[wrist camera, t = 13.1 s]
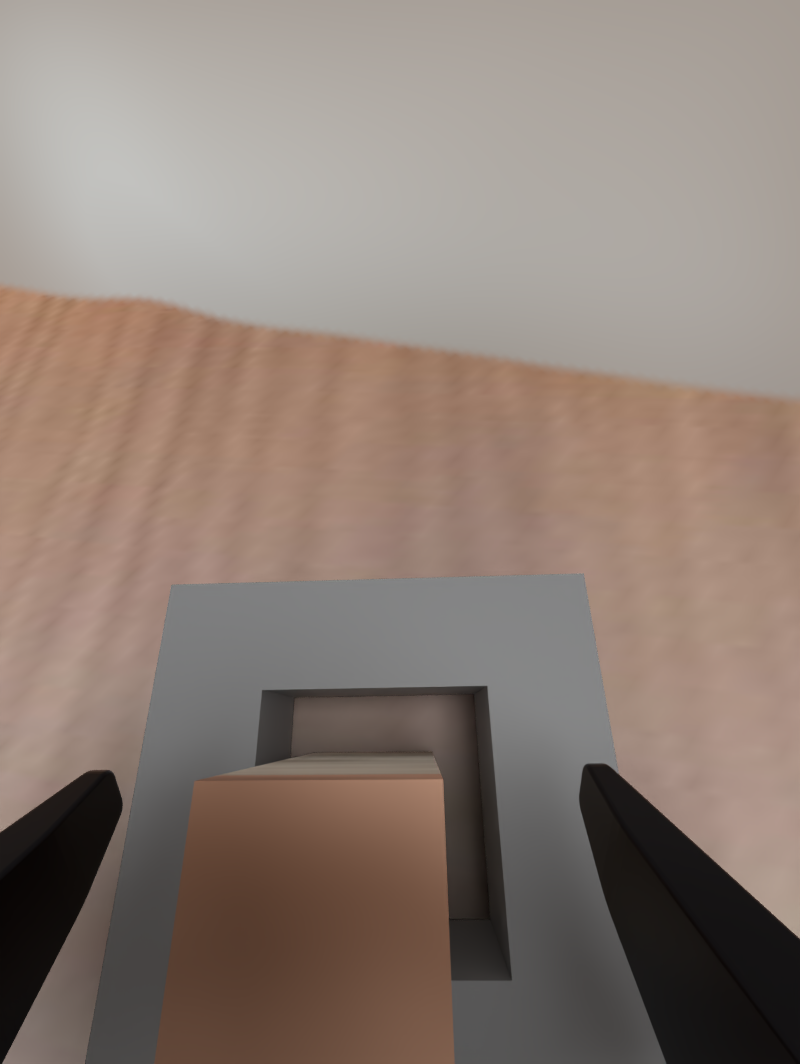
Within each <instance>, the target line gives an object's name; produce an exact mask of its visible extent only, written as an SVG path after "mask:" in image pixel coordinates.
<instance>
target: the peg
mask: <svg viewBox="0 0 800 1064" xmlns="http://www.w3.org/2000/svg"><path fill="white" fill-rule="evenodd" d="M154 1064H455V1060H454V1036H453V1011H452V986H451V962H450V937H449V912H448V887H447V863H446V838H445V813H444V789H443V778H442V775H441V773H440V770H439V768H438V765H437V763H436V760H435V758H434V755H433V753H432V752H323V753H311V754H306V755H302V756H298V757H294V758H289V759H285V760H281V761H277V762H272V763H268V764H264V765H260V766H256V767H251V768H247V769H243V770H239V771H234V772H230V773H226V774H222V775H217V776H213V777H209V778H205V779H200V780H196V781H194V788H193V795H192V802H191V809H190V816H189V823H188V830H187V837H186V844H185V851H184V858H183V865H182V872H181V879H180V886H179V893H178V900H177V907H176V914H175V921H174V928H173V935H172V942H171V949H170V956H169V963H168V970H167V977H166V984H165V991H164V998H163V1005H162V1012H161V1019H160V1026H159V1033H158V1040H157V1047H156V1054H155V1061H154Z"/></svg>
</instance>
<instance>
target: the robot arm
mask: <svg viewBox="0 0 800 1064" xmlns="http://www.w3.org/2000/svg"><path fill="white" fill-rule="evenodd" d="M579 805H580V810H581V813H582V817H583V821H584V825H585V828H586V832H587V836H588V839H589V843H590V847H591V850H592V854H593V858H594V861H595V865H596V869H597V872H598V876H599V880H600V883H601V887H602V890H603V894H604V897H605V901H606V903H607V906H608V909H609V912H610V915H611V918H612V920H613V923H614V926H615V928H616V931H617V934H618V936H619V939H620V942H621V944H622V947H623V950H624V952H625V955H626V958H627V960H628V963H629V966H630V968H631V971H632V974H633V976H634V979H635V982H636V984H637V987H638V990H639V992H640V995H641V998H642V1000H643V1003H644V1006H645V1008H646V1011H647V1014H648V1016H649V1019H650V1022H651V1024H652V1027H653V1030H654V1032H655V1035H656V1038H657V1040H658V1043H659V1046H660V1048H661V1051H662V1054H663V1056H664V1059H665V1062H666V1064H800V939H799V938H798V937H797V936H796V935H795V934H794V933H793V932H792V931H791V930H789V929H788V928H787V927H786V926H785V925H784V924H783V923H782V922H781V921H780V920H778V919H777V918H776V917H775V916H774V915H773V914H772V913H771V912H770V911H769V910H767V909H766V908H765V907H764V906H763V905H762V904H761V903H760V902H759V901H758V900H756V899H755V898H754V897H753V896H752V895H751V894H750V893H749V892H748V891H747V890H745V889H744V888H743V887H742V886H741V885H740V884H739V883H738V882H737V881H736V880H734V879H733V878H732V877H731V876H730V875H729V874H728V873H727V872H726V871H725V870H723V869H722V868H721V867H720V866H719V865H718V864H717V863H716V862H715V861H714V860H713V859H711V858H710V857H709V856H708V855H707V854H706V853H705V852H704V851H703V850H702V849H700V848H699V847H698V846H697V845H696V844H695V843H694V842H693V841H692V840H691V839H689V838H688V837H687V836H686V835H685V834H684V833H683V832H682V831H681V830H680V829H678V828H677V827H676V826H675V825H674V824H673V823H672V822H671V821H670V820H669V819H667V818H666V817H665V816H664V815H663V814H662V813H661V812H660V811H659V810H658V809H656V808H655V807H654V806H653V805H652V804H651V803H650V802H649V801H648V800H647V799H645V798H644V797H643V796H642V795H641V794H640V793H639V792H638V791H637V790H636V789H634V788H633V787H632V786H631V785H630V784H629V783H628V782H627V781H626V780H625V779H623V778H622V777H621V776H620V775H619V774H618V773H617V772H616V771H615V770H614V769H612V768H611V767H610V766H609V765H607V764H605V763H587V764H585V765H584V767H583V770H582V777H581V784H580V791H579ZM122 806H123V803H122V797H121V794H120V791H119V788H118V785H117V781H116V778H115V775H114V773H113V772H112V771H110V770H92V771H88V772H86V773H84V774H83V775H81V776H80V777H78V778H77V779H76V780H74V781H73V782H71V783H70V784H69V785H67V786H66V787H64V788H63V789H61V790H60V791H59V792H57V793H56V794H54V795H53V796H52V797H50V798H49V799H47V800H46V801H44V802H43V803H42V804H40V805H39V806H37V807H36V808H34V809H33V810H32V811H30V812H29V813H27V814H26V815H25V816H23V817H22V818H20V819H19V820H17V821H16V822H15V823H13V824H12V825H10V826H9V827H7V828H6V829H5V830H3V831H2V832H0V1064H2V1063H3V1061H4V1059H5V1057H6V1055H7V1053H8V1051H9V1049H10V1047H11V1045H12V1043H13V1041H14V1039H15V1037H16V1035H17V1033H18V1031H19V1030H20V1028H21V1026H22V1024H23V1022H24V1020H25V1018H26V1016H27V1014H28V1012H29V1010H30V1008H31V1006H32V1004H33V1002H34V1000H35V998H36V996H37V994H38V992H39V991H40V989H41V987H42V985H43V983H44V981H45V979H46V977H47V975H48V973H49V971H50V969H51V967H52V965H53V963H54V961H55V959H56V957H57V955H58V954H59V952H60V950H61V948H62V946H63V944H64V942H65V940H66V938H67V936H68V934H69V932H70V930H71V928H72V926H73V924H74V922H75V920H76V918H77V916H78V914H79V912H80V910H81V908H82V906H83V904H84V902H85V899H86V897H87V895H88V893H89V890H90V888H91V886H92V883H93V881H94V878H95V876H96V874H97V871H98V869H99V866H100V864H101V861H102V859H103V857H104V854H105V852H106V849H107V847H108V844H109V842H110V840H111V837H112V835H113V832H114V830H115V828H116V825H117V823H118V820H119V818H120V815H121V812H122Z"/></svg>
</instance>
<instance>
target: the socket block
mask: <svg viewBox="0 0 800 1064" xmlns="http://www.w3.org/2000/svg"><path fill="white" fill-rule="evenodd" d="M456 694H474V702H475V715H476V729H477V743H478V757H479V770H480V784H481V798H482V812H483V826H484V839H485V853H486V867H487V881H488V895H489V908H490V920H449V937H450V962H451V986H452V1011H453V1036H454V1060H455V1064H666V1062H665V1059H664V1056H663V1054H662V1051H661V1048H660V1046H659V1043H658V1040H657V1038H656V1035H655V1032H654V1030H653V1027H652V1024H651V1022H650V1019H649V1016H648V1014H647V1011H646V1008H645V1006H644V1003H643V1000H642V998H641V995H640V992H639V990H638V987H637V984H636V982H635V979H634V976H633V974H632V971H631V968H630V966H629V963H628V960H627V958H626V955H625V952H624V950H623V947H622V944H621V942H620V939H619V936H618V934H617V931H616V928H615V926H614V923H613V920H612V918H611V915H610V912H609V909H608V906H607V903H606V901H605V897H604V894H603V890H602V887H601V883H600V880H599V876H598V872H597V869H596V865H595V861H594V858H593V854H592V850H591V847H590V843H589V839H588V836H587V832H586V828H585V825H584V821H583V817H582V813H581V810H580V805H579V791H580V784H581V777H582V770H583V767H584V765H585V764H587V763H605V764H607V765H609V766H610V767H611V768H612V769H614V770H615V771H616V772H617V773H618V774H619V772H618V767H617V761H616V755H615V749H614V744H613V738H612V732H611V727H610V721H609V715H608V710H607V704H606V698H605V692H604V687H603V681H602V675H601V670H600V664H599V658H598V653H597V647H596V641H595V635H594V630H593V624H592V618H591V613H590V607H589V601H588V596H587V590H586V584H585V578H584V574H549V575H512V576H476V577H439V578H402V579H366V580H329V581H292V582H256V583H219V584H183V585H171V590H170V596H169V602H168V607H167V613H166V618H165V624H164V629H163V635H162V640H161V646H160V651H159V657H158V662H157V668H156V673H155V679H154V684H153V690H152V696H151V701H150V707H149V712H148V718H147V723H146V729H145V734H144V740H143V745H142V751H141V756H140V762H139V767H138V773H137V778H136V784H135V790H134V795H133V801H132V806H131V812H130V817H129V823H128V828H127V834H126V839H125V845H124V850H123V856H122V861H121V867H120V872H119V878H118V884H117V889H116V895H115V900H114V906H113V911H112V917H111V922H110V928H109V933H108V939H107V944H106V950H105V955H104V961H103V966H102V972H101V977H100V983H99V989H98V994H97V1000H96V1005H95V1011H94V1016H93V1022H92V1027H91V1033H90V1038H89V1044H88V1049H87V1055H86V1060H85V1064H154V1061H155V1054H156V1047H157V1040H158V1033H159V1026H160V1019H161V1012H162V1005H163V998H164V991H165V984H166V977H167V970H168V963H169V956H170V949H171V942H172V935H173V928H174V921H175V914H176V907H177V900H178V893H179V886H180V879H181V872H182V865H183V858H184V851H185V844H186V837H187V830H188V823H189V816H190V809H191V802H192V795H193V788H194V781H196V780H200V779H205V778H209V777H213V776H217V775H222V774H226V773H230V772H234V771H239V770H243V769H247V768H251V767H256V766H260V765H264V764H268V763H272V762H277V761H281V760H285V759H289V758H290V754H291V739H292V725H293V710H294V698H296V697H349V696H403V695H456Z"/></svg>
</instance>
